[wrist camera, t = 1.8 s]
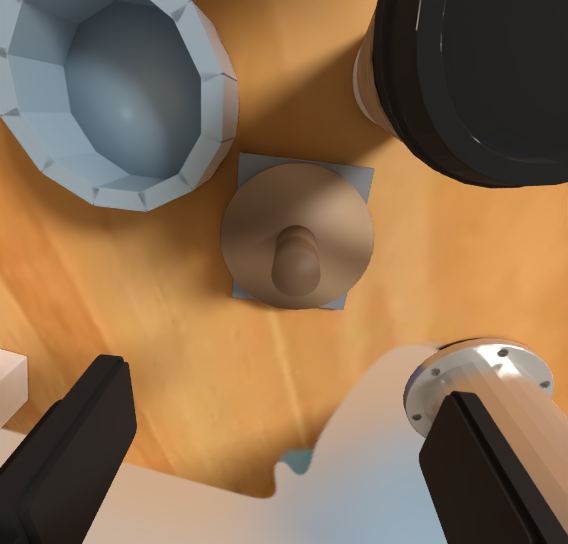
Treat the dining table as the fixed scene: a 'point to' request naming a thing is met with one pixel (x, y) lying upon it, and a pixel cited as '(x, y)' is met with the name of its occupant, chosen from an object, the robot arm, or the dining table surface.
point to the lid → (297, 236)
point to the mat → (258, 163)
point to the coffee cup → (471, 86)
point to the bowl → (118, 96)
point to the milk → (12, 384)
